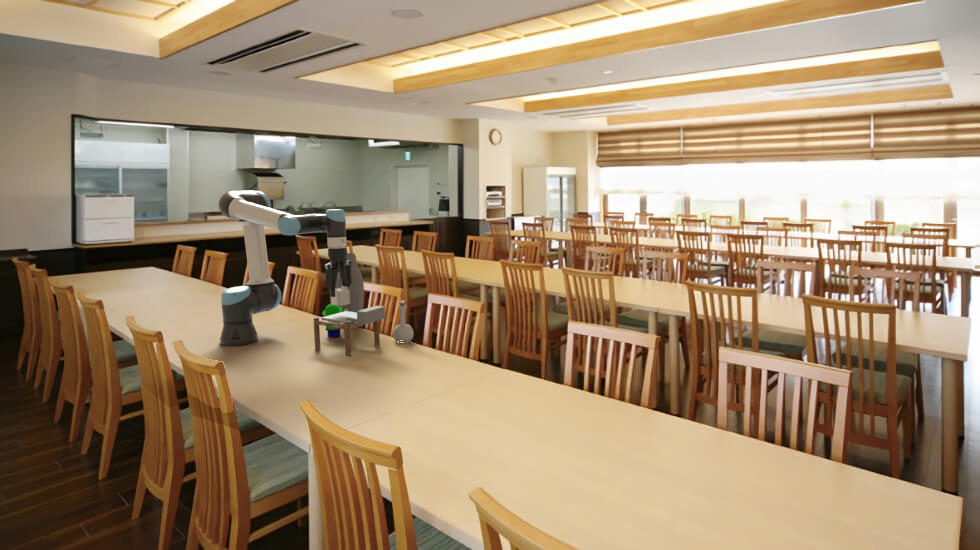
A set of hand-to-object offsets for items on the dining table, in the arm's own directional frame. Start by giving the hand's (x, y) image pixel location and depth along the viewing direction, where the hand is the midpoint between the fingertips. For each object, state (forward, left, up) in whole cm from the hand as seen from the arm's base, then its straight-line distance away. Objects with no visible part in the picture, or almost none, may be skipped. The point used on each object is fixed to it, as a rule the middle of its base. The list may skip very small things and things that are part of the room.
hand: (340, 303), depth 240 cm
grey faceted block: (+8, 0, -6) cm, 10 cm away
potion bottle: (+17, +19, -19) cm, 32 cm away
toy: (-15, +10, -19) cm, 26 cm away
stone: (0, 0, 0) cm, 0 cm away
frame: (+3, 0, -19) cm, 19 cm away
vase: (-21, +28, -19) cm, 40 cm away
